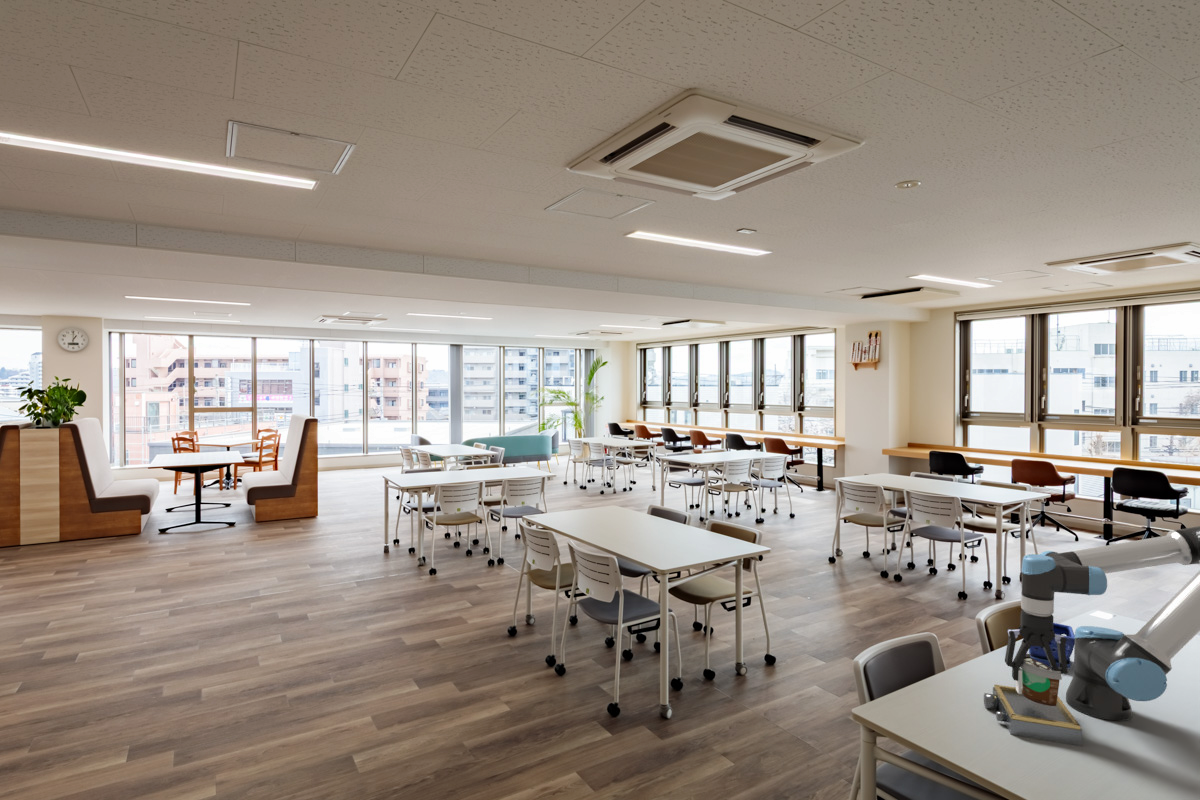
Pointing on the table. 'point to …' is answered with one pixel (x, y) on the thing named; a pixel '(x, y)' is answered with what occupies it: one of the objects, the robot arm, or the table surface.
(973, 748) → the table surface
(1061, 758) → the table surface
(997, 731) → the table surface
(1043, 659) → the flower pot
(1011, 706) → the grey flat box
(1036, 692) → the food container
